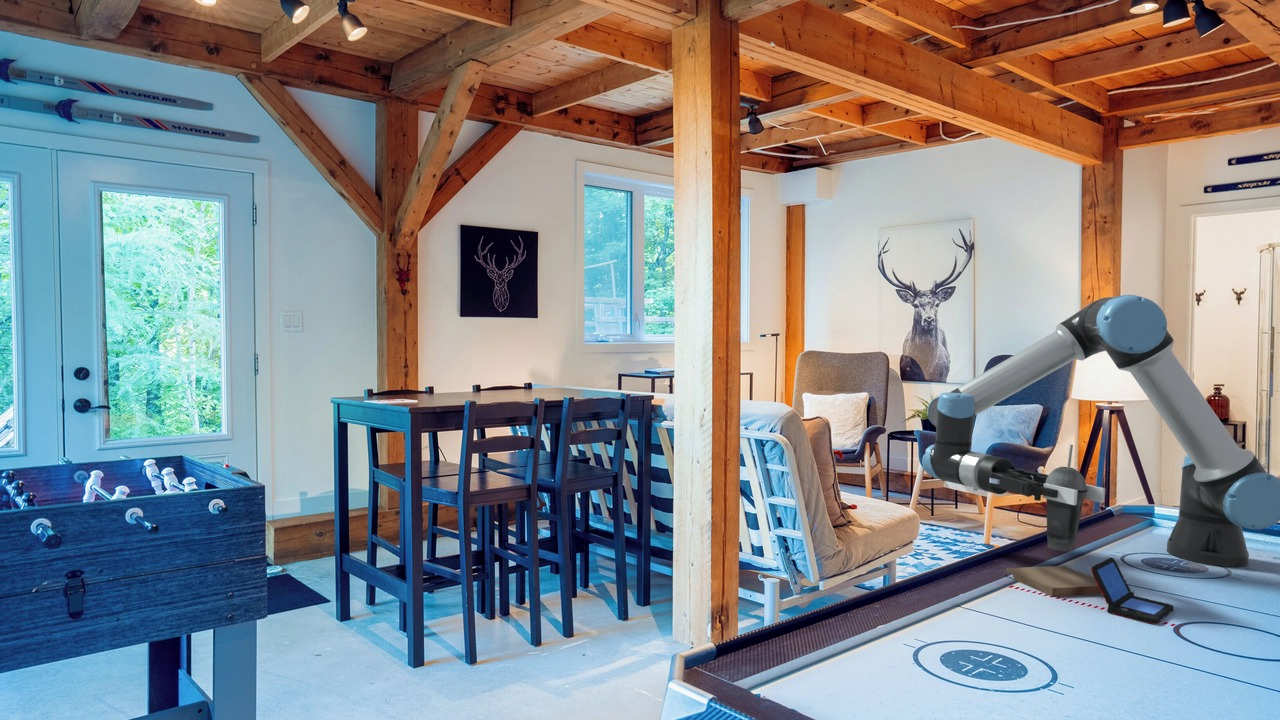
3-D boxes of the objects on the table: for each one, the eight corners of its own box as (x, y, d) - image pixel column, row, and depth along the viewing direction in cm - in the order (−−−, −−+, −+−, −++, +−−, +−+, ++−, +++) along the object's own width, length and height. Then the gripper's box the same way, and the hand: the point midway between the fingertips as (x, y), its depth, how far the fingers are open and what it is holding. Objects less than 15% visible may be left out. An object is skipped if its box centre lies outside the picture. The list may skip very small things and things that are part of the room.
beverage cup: (1072, 544, 164) (1080, 442, 163) (1089, 554, 156) (1097, 448, 155) (1033, 541, 164) (1041, 440, 163) (1048, 551, 157) (1056, 445, 156)
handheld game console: (1155, 627, 140) (1159, 583, 140) (1085, 609, 148) (1088, 567, 147) (1175, 611, 149) (1179, 570, 148) (1108, 595, 156) (1111, 555, 156)
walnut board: (1063, 573, 168) (1064, 565, 168) (1113, 592, 157) (1113, 585, 157) (1005, 575, 164) (1006, 568, 164) (1052, 596, 153) (1052, 588, 153)
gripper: (1019, 488, 180) (1122, 513, 160) (951, 493, 171) (1051, 520, 151) (1022, 454, 180) (1125, 474, 160) (954, 456, 171) (1054, 478, 150)
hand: (1089, 496), depth 155 cm, fingers closed on beverage cup, 7 cm apart
